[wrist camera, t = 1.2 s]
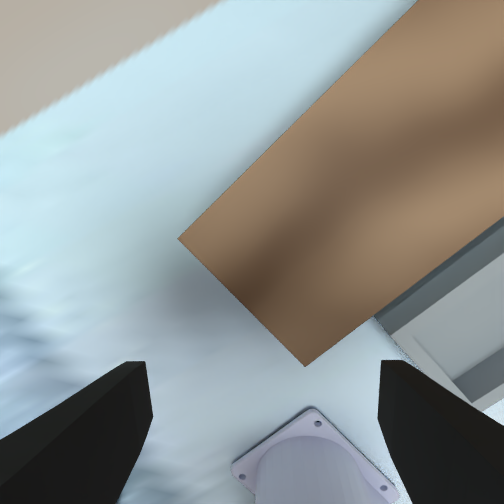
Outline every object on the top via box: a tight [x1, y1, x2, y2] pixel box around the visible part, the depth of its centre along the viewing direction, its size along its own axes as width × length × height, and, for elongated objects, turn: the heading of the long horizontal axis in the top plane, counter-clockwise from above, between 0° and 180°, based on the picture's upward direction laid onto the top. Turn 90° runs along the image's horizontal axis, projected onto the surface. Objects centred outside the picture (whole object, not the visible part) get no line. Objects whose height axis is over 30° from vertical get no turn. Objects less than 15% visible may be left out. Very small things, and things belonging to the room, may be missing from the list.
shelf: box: [178, 0, 504, 367], centre depth 14 cm, size 9×18×4 cm, turn 133°
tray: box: [374, 217, 504, 412], centre depth 16 cm, size 7×10×3 cm
